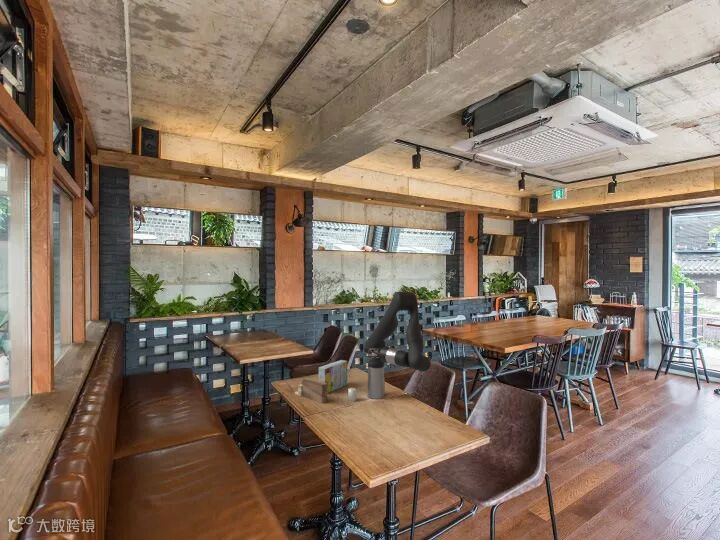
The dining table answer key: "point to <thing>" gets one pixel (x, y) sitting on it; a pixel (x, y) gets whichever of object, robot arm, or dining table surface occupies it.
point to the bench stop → (299, 390)
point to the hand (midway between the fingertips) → (365, 349)
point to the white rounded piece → (352, 394)
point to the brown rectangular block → (314, 390)
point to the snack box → (334, 375)
